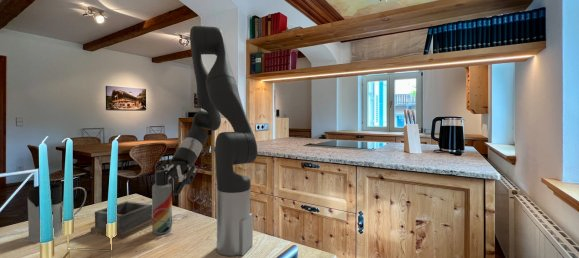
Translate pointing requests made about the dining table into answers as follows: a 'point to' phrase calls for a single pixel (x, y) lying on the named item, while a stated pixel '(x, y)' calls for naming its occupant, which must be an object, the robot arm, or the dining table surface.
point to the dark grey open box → (125, 219)
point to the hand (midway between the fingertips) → (164, 192)
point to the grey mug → (56, 209)
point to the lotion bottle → (162, 203)
